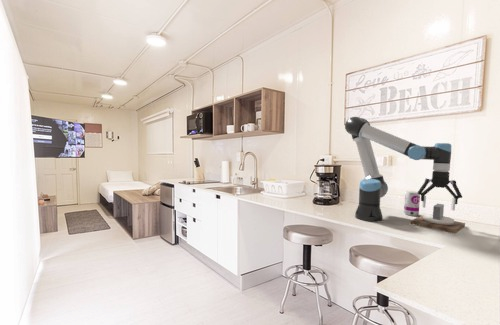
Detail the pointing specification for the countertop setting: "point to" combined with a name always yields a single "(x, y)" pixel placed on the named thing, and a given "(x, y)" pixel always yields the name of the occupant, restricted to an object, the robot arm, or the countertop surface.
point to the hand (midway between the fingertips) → (438, 208)
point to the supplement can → (411, 203)
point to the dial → (438, 216)
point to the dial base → (439, 225)
